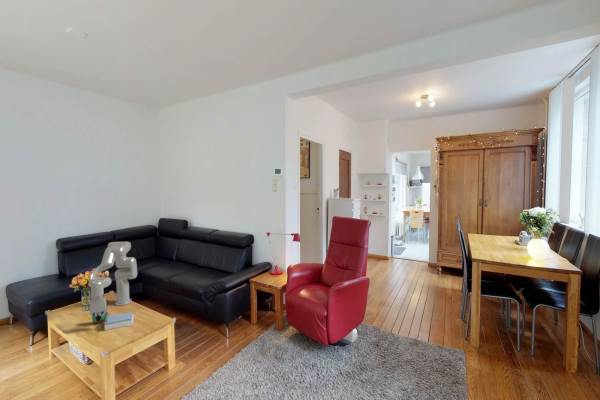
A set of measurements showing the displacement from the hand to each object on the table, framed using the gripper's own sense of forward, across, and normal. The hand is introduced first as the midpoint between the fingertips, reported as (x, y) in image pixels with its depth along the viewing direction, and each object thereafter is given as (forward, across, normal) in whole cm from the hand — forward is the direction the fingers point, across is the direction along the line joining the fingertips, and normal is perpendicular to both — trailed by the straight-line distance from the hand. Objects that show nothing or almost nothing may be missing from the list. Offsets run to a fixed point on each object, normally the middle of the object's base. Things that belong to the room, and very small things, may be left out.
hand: (98, 320), depth 207 cm
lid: (+1, -13, 0) cm, 13 cm away
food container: (+6, +2, -9) cm, 11 cm away
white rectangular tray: (+6, -13, 0) cm, 15 cm away
